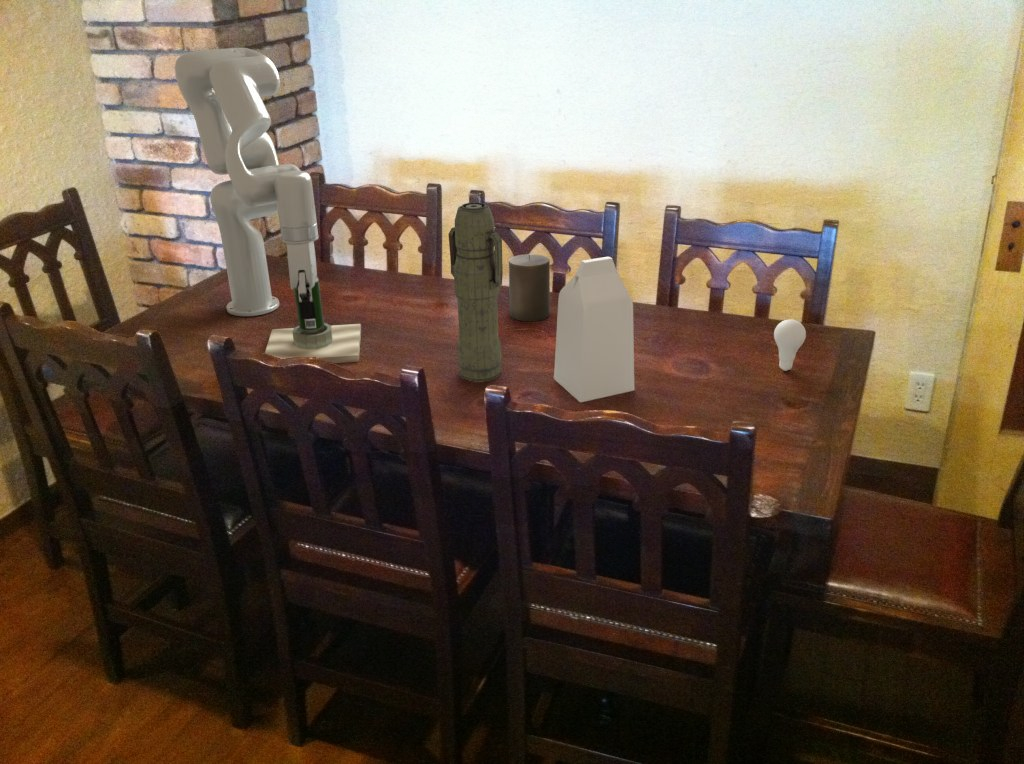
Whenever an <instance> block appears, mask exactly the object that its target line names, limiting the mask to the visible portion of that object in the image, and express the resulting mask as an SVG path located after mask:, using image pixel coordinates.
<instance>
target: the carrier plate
mask: <svg viewBox="0 0 1024 764" xmlns="http://www.w3.org/2000/svg"><path fill="white" fill-rule="evenodd" d="M361 336H362V325H361V323H352V324H350V323H349V324H348V323H347V324H335V325H334V324H333V325H330V324H328V323H327V322H324V326H323V329H322V330H320V331H317V332H303V331H302V330H301V329H300V327H299V325H296V326H295V327H291V328H290V327H288V328H287V327H286V328H275V329H274V328H273V329H272V330H271V332H270V335H269V338H268V341H267V345H266V348H265V351H264V354H265V353H266V354H269V355H272V356H274V357H277V358H280V359H286V358H293V357H316V358H320V359H324V360H328V361H331V362H334V363H333V364H341V363H342V364H343V363H357V362H359V361H360V351H361V349H360V348H361Z"/></svg>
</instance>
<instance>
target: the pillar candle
mask: <svg viewBox="0 0 1024 764" xmlns="http://www.w3.org/2000/svg"><path fill="white" fill-rule="evenodd" d="M550 266H551V265H550V258H549V257H548V256H545V255H542V254H537V253H536V254H535V253H534V254H533V253H528V254H527V253H526V254H518V255H514V256H512V257H510V258H508V279H509V281H508V282H509V284H508V291H509V292H508V296H509V297H508V298H509V300H508V301H509V316H510V317H511V318H513V319H514V320H519V321H522V322H539V321H541V320H546V319H547V318H549V316H550V314H551V308H550V307H551V305H550V304H551V301H550V300H551V299H550V298H551V297H550V295H551V294H550V293H551V291H550V290H551V286H550V285H551V284H550V282H551V281H550V277H551V274H550V268H551V267H550Z"/></svg>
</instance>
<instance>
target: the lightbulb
mask: <svg viewBox="0 0 1024 764" xmlns="http://www.w3.org/2000/svg"><path fill="white" fill-rule="evenodd" d="M773 331H774V332H773V338H774V341H775V343H776V345H777V348H778V359H779V365H778V367H779V368H780V369H782V371H784V372H787V371H788V370H791V369H793V364H794V360H795V359H796V355H797V352H798V350H799V349H800V348H801V346H802V345H803V344H804V343H805V340H806V339H807V338H806V337H807V331H806V328H805V327H804V325H803V324H802V322H800V321H798V320H796V319H793V318H791V319H790V318H789V319H785V320H782V321H781V322H779V323H778V324H777V325H776V326H775V328H774V330H773Z"/></svg>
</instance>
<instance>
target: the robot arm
mask: <svg viewBox="0 0 1024 764" xmlns="http://www.w3.org/2000/svg"><path fill="white" fill-rule="evenodd" d="M174 73H175V79H176V82H177V85H178V89H179V92H180V93H181V95H182V97H183V99H184V101H185V102H186V104H187V106H188V108H189V109H190V111H191V113H192V115H193V118H194V120H195V124H196V128H197V132H198V135H199V139H200V143H201V146H202V151H203V153H204V157H205V160H206V164H207V165H208V166H207V167H209V169H210V171H211V172H212V173H214V174H215V175H220V176H223V175H225V176H226V175H228V177H229V179H228V180H225V181H222V182H219V183H217V184H216V185H215V186H214V187H212V189H211V192H210V194H209V195H210V197H209V199H210V204H211V207H212V210H213V213H214V216H215V219H216V222H217V225H218V230H219V233H220V238H221V243H222V244H221V245H222V250H223V254H224V261H225V266H226V272H227V273H226V274H227V277H228V284H229V291H230V296H231V301H229V302H228V303H227V305H226V311H227V313H229V314H230V315H233V316H238V317H254V316H255V317H256V316H257V317H258V316H261V315H266V314H269V313H271V312H273V311H275V310H277V309H278V308H279V307H280V301H279V298H278V297H276V296H273V295H272V289H271V282H270V275H269V270H268V269H269V267H268V261H267V254H266V249H265V248H266V247H265V242H264V238H263V235H262V232H260V230H259V229H258V228H256V227H255V226H254V225H253V224H252V222H251V220H255V219H259V218H264V217H269V216H274V215H278V223H279V228H280V237H281V242H283V243H284V244H286V250H287V251H286V253H287V264H288V274H289V284H290V286H289V287H290V289H291V290H293V291H294V289H295V288H296V287H297V283H298V293H299V307H300V314H301V319H315V318H316V309H315V301H314V300H313V295H312V288H313V287H314V285H315V277H316V274H317V275H318V273H317V258H316V249H315V242H316V241H317V240H318V239H319V231H318V222H317V220H318V219H317V213H316V205H315V196H314V188H313V187H314V186H313V180H312V176H311V175H310V174H309V173H308V172H307V171H303V170H301V169H300V168H299V167H298V166H297V165H294V164H293V163H285V164H284V163H283V164H280V163H279V159H278V158H279V157H278V155H277V154H278V153H277V150H276V147H275V144H274V141H273V139H272V138H271V136H270V135H269V134H268V133H267V132H268V130H269V129H270V127H271V124H272V123H271V122H272V119H271V117H270V113H269V112H268V109H267V108H266V105H265V103H264V101H263V99H262V98H265V97H272V96H275V95H276V94H278V92H279V91H280V88H281V79H280V75H279V72H278V69H277V67H276V66H275V64H274V62H273V61H272V60H271V59H270V58H269V57H268V56H266V55H264V54H263V53H261V52H259V51H256V50H254V49H250V48H248V47H232V48H231V47H229V48H215V49H214V48H212V49H201V50H194V51H189V52H185V53H183V54H181V55H180V56H179V57H178V58H177V59H176V61H175V65H174ZM306 284H309V287H306ZM307 290H309V293H308V292H307Z"/></svg>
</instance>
